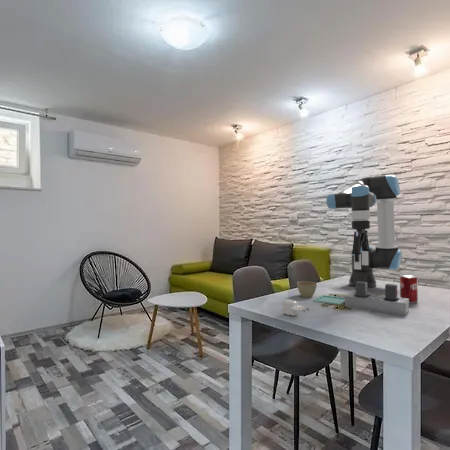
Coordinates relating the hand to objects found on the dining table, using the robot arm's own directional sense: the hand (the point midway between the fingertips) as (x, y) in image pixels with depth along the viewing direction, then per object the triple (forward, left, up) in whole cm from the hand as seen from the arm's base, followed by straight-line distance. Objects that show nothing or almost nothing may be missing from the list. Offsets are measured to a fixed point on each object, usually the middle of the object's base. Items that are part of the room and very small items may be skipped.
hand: (361, 267), depth 144 cm
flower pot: (-5, -28, -18) cm, 34 cm away
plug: (0, 0, -17) cm, 17 cm away
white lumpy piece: (+30, -19, -18) cm, 40 cm away
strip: (-5, +6, -18) cm, 19 cm away
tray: (-3, -15, -18) cm, 23 cm away
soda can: (-22, +16, -18) cm, 32 cm away
